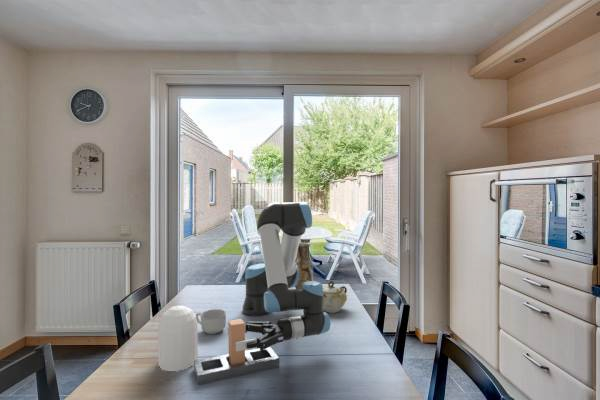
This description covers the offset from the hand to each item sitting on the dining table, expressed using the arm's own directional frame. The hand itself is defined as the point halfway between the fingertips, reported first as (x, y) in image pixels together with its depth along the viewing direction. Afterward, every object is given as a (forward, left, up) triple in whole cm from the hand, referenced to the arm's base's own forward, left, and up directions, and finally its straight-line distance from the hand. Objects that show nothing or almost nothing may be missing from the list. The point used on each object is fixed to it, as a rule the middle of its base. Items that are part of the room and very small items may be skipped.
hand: (231, 338), depth 118 cm
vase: (-72, +59, -11) cm, 94 cm away
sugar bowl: (-38, +60, -11) cm, 72 cm away
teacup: (-37, -1, -11) cm, 39 cm away
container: (-13, -16, -11) cm, 23 cm away
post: (0, +2, -11) cm, 11 cm away
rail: (0, +2, -11) cm, 11 cm away
